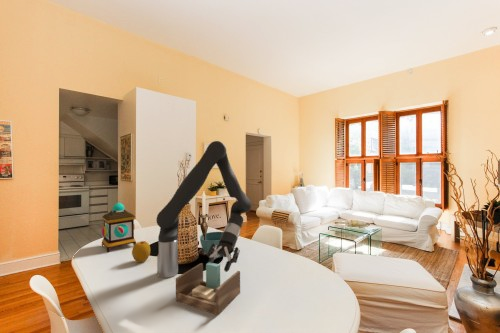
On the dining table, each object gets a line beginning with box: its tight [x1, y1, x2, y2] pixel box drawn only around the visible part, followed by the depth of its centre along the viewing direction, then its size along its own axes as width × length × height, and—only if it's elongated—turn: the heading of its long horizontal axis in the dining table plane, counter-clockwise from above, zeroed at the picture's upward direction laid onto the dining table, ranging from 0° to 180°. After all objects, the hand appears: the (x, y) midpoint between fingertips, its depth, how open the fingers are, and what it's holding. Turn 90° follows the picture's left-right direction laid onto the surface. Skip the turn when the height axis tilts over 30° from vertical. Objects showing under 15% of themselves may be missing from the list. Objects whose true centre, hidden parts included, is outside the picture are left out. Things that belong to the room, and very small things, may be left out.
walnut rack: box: [175, 262, 241, 316], centre depth 95 cm, size 20×16×10 cm
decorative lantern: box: [101, 202, 137, 253], centre depth 162 cm, size 20×20×30 cm
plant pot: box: [199, 231, 223, 259], centre depth 142 cm, size 18×18×12 cm
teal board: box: [205, 262, 221, 290], centre depth 97 cm, size 6×2×12 cm, turn 64°
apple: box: [131, 240, 151, 263], centre depth 135 cm, size 10×10×12 cm
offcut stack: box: [192, 285, 216, 303], centre depth 91 cm, size 9×5×4 cm, turn 64°
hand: (217, 269), depth 100 cm, fingers open, 8 cm apart
